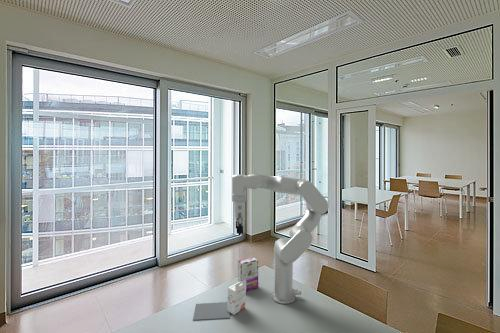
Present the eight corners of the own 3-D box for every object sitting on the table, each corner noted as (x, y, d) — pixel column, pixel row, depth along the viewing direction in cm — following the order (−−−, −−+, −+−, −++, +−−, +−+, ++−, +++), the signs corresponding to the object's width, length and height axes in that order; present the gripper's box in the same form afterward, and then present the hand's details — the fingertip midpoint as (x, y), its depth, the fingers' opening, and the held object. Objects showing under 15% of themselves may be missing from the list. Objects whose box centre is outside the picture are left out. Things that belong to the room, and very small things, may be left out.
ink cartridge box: (237, 303, 130) (239, 275, 130) (245, 307, 127) (247, 278, 127) (226, 310, 124) (228, 281, 123) (233, 315, 121) (236, 285, 120)
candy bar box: (254, 284, 152) (254, 256, 151) (258, 287, 147) (258, 259, 147) (237, 288, 146) (237, 260, 146) (241, 292, 142) (241, 263, 142)
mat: (229, 302, 132) (229, 301, 132) (230, 318, 119) (230, 317, 119) (195, 304, 130) (195, 303, 130) (192, 320, 117) (192, 319, 117)
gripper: (248, 200, 125) (247, 235, 125) (245, 195, 142) (244, 226, 142) (232, 201, 124) (232, 236, 124) (231, 196, 141) (231, 226, 141)
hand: (239, 230), depth 133 cm, fingers open, 9 cm apart
